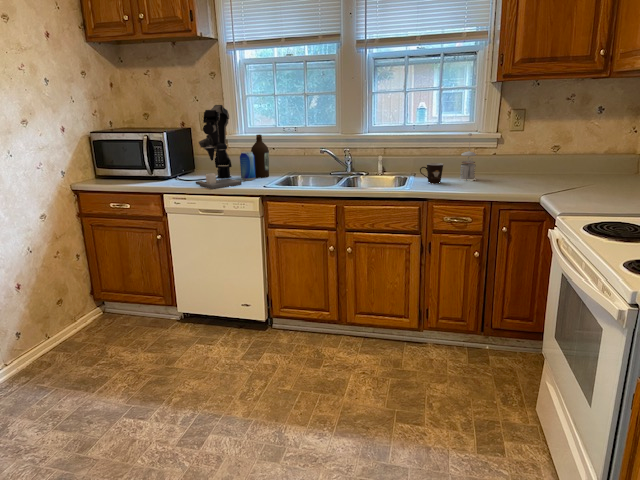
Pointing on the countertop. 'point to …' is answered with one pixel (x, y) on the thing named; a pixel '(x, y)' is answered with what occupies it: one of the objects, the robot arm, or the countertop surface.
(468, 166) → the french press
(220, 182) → the outlet plate
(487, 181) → the countertop surface
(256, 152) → the olive oil
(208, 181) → the block
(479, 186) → the countertop surface
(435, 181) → the coffee mug
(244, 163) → the beer can
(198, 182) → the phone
